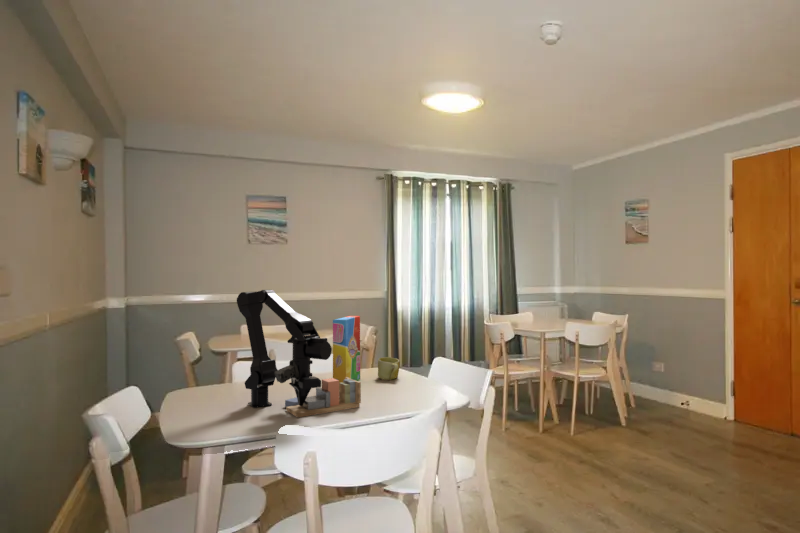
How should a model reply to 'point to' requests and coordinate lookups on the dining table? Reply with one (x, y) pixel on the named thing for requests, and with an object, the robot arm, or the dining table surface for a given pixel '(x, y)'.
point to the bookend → (318, 400)
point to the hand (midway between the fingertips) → (300, 405)
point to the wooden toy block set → (347, 400)
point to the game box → (346, 348)
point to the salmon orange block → (332, 390)
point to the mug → (388, 368)
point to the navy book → (291, 402)
